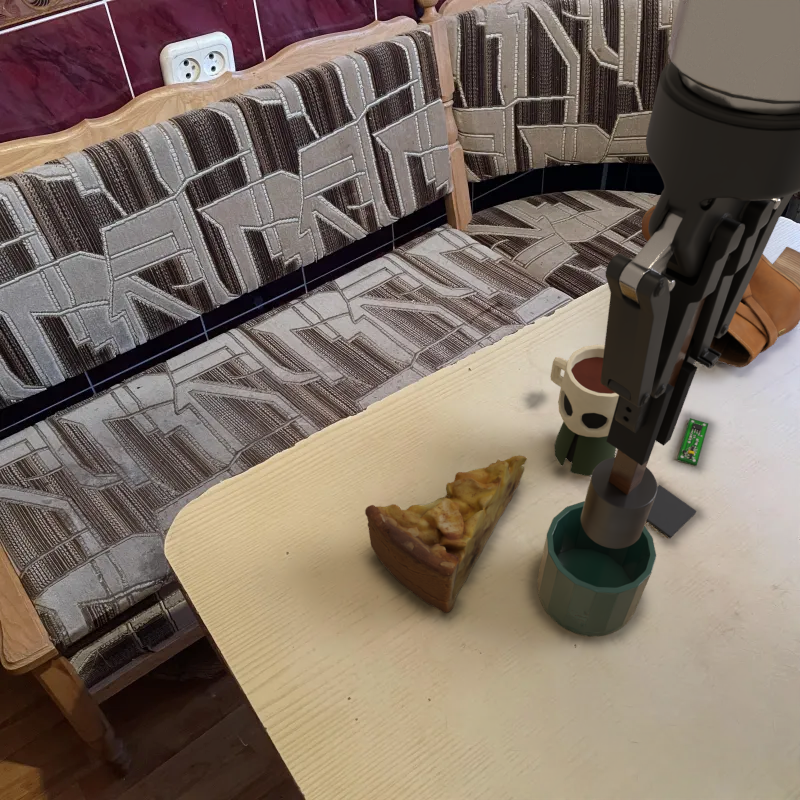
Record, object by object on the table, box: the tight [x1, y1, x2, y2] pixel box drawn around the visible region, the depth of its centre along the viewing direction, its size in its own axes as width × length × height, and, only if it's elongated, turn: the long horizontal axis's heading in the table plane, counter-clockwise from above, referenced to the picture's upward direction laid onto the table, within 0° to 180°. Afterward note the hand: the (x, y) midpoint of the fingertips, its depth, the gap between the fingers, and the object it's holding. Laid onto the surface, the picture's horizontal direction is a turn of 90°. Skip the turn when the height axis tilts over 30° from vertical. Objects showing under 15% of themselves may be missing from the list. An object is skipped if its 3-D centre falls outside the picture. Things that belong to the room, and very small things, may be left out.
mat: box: [646, 484, 697, 539], centre depth 76 cm, size 4×4×1 cm
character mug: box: [550, 344, 619, 477], centre depth 76 cm, size 11×7×13 cm, turn 46°
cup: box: [537, 500, 657, 637], centre depth 67 cm, size 9×9×8 cm
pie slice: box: [364, 455, 528, 614], centre depth 72 cm, size 18×10×8 cm, turn 134°
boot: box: [640, 204, 800, 368], centre depth 95 cm, size 24×9×19 cm
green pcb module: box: [676, 417, 710, 467], centre depth 82 cm, size 6×1×2 cm
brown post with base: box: [581, 297, 706, 549], centre depth 47 cm, size 4×4×22 cm
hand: (638, 439), depth 48 cm, fingers closed on brown post with base, 2 cm apart
